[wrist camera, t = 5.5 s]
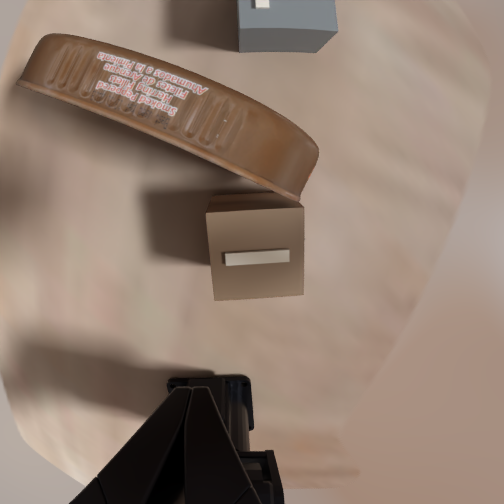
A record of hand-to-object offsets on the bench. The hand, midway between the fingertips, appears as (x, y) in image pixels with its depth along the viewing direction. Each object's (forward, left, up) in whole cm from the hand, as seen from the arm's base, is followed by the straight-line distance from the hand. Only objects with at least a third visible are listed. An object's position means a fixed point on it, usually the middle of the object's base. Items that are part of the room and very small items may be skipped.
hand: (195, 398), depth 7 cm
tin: (+8, +2, -13) cm, 15 cm away
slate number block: (+13, -4, -13) cm, 19 cm away
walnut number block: (0, -2, -13) cm, 13 cm away
